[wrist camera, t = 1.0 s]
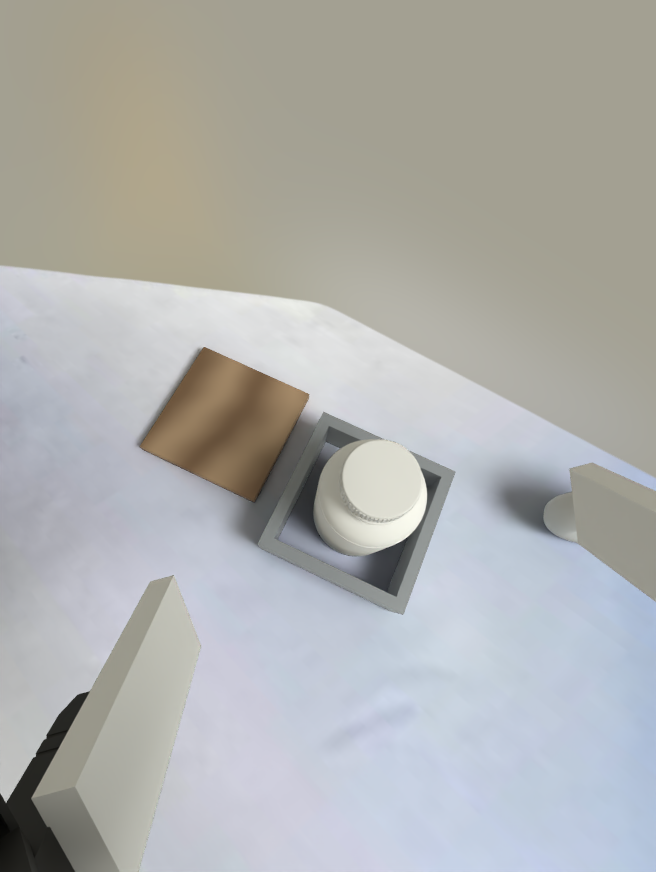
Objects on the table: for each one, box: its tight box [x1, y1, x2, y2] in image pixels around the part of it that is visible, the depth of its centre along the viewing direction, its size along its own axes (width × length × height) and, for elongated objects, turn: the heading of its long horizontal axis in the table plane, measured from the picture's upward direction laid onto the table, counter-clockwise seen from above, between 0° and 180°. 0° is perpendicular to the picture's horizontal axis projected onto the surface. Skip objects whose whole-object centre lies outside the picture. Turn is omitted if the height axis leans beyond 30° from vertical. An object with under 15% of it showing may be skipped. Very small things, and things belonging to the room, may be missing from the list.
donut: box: [543, 492, 578, 543], centre depth 38 cm, size 10×3×10 cm, turn 79°
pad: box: [140, 347, 309, 503], centre depth 44 cm, size 12×12×1 cm
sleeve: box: [257, 412, 455, 615], centre depth 40 cm, size 13×13×4 cm
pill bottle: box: [313, 439, 427, 556], centre depth 35 cm, size 8×8×15 cm
